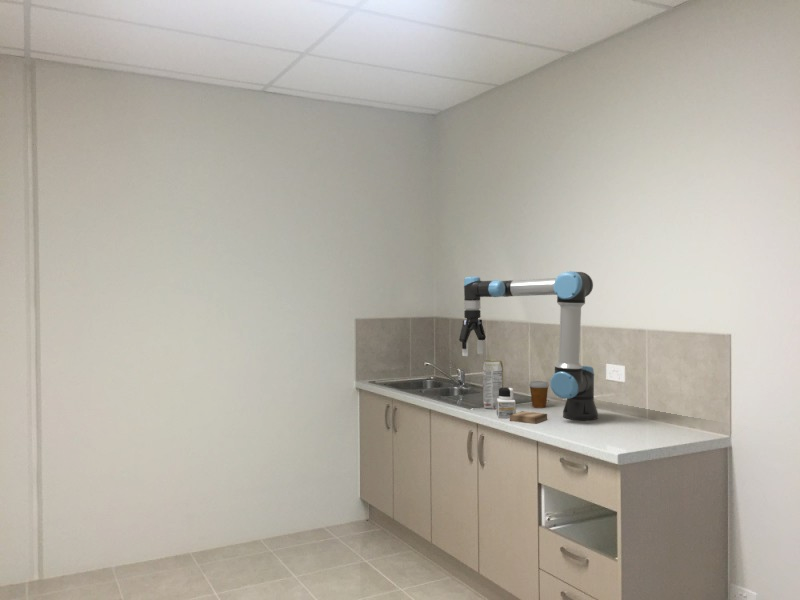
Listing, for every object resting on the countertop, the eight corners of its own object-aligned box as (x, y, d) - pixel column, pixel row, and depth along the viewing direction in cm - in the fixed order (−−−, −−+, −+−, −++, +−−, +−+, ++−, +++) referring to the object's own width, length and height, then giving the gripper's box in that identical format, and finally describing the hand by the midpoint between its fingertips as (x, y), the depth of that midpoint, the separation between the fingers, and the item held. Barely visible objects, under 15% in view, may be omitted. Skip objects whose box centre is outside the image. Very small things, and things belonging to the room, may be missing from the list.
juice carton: (503, 407, 341) (503, 357, 340) (501, 409, 333) (501, 359, 333) (484, 406, 343) (484, 357, 343) (482, 409, 336) (482, 359, 335)
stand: (547, 419, 307) (547, 413, 307) (535, 423, 298) (535, 417, 298) (522, 416, 315) (522, 410, 315) (509, 420, 305) (509, 414, 305)
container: (498, 418, 311) (498, 389, 311) (496, 415, 319) (496, 386, 319) (515, 418, 311) (515, 389, 311) (513, 415, 319) (513, 386, 318)
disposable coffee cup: (525, 405, 344) (525, 381, 343) (543, 405, 346) (543, 380, 346) (534, 409, 334) (534, 384, 334) (552, 408, 337) (552, 383, 336)
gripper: (478, 308, 341) (479, 352, 341) (451, 310, 321) (451, 356, 321) (492, 309, 336) (492, 353, 336) (465, 310, 316) (465, 357, 316)
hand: (472, 354), depth 329 cm, fingers open, 13 cm apart
